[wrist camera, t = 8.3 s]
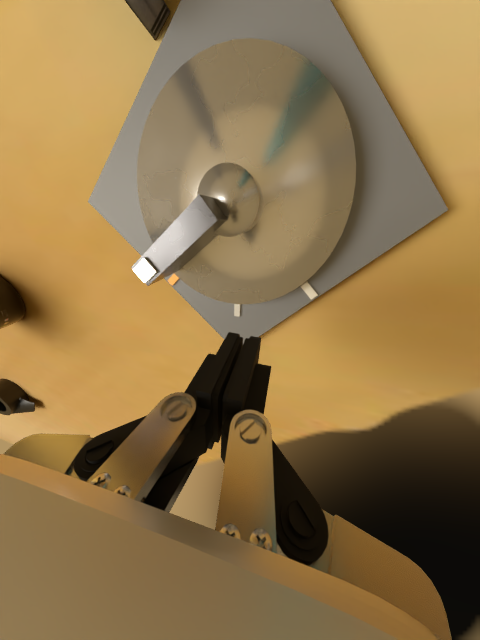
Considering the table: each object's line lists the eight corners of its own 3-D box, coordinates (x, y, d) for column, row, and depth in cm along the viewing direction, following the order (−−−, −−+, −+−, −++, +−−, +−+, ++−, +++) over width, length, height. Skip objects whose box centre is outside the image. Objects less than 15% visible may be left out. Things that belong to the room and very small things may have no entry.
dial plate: (252, -112, 9) (247, -154, 8) (437, 210, 13) (450, 209, 12) (97, 202, 17) (85, 201, 16) (238, 345, 21) (236, 352, 20)
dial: (264, -38, 9) (239, -289, 5) (390, 225, 13) (448, 230, 8) (113, 187, 15) (37, 176, 11) (226, 326, 19) (206, 362, 14)
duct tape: (-5, 362, 34) (-29, 374, 31) (46, 401, 36) (28, 415, 33) (-15, 378, 37) (-37, 390, 34) (32, 413, 39) (14, 427, 37)
